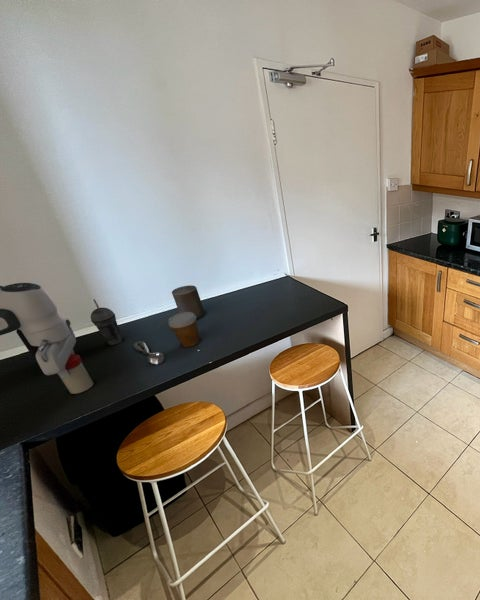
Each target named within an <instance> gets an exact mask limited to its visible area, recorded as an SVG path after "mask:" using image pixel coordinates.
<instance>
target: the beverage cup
mask: <svg viewBox="0 0 480 600" xmlns="http://www.w3.org/2000/svg"><path fill="white" fill-rule="evenodd" d="M93 303H94V304H95V306H96V308H95V309H94V310H93V311H92V312H91V314H90V321H91V323H92V324H93V325H94V326H95V327H96V328H97V330H98V331H99V333H100V334H101V336H102V337H103V339H104V340H105V342H106V343H107V344H108V345H109V346H114V345H118V344H120V343H121V342H122V341H123V337H122V333H121V331H120V328H119V325H118V322H117V316H116V314H115V313H114V311H113V310H112V309H110V308H107V307H100V306H99V304H98V302H97V301H96V299H93Z"/></svg>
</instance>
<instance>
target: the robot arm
mask: <svg viewBox="0 0 480 600" xmlns="http://www.w3.org/2000/svg"><path fill="white" fill-rule="evenodd" d="M71 324H72V323H71V320H70V319H69V318H63V317H62V316H61V315H60V313H58V308H57V305H56V303H55V302H54V300H53V298H52V297H51V296H50V294H49V293H48V292H47V291H46V290H45V289H44V287H42V286H41V285H40V284H37V283H34V282H33V283H32V282H15V283H11V284H6V285H4V286H3V285H0V336H4V335H6V334H9V333H10V334H11V333H12V332H16V331H17V329H19V330H21V331H22V333H23V334H24V336H25V337H26V339H27V340H28V342H29V343H30V345H32V346H39V347H38V351H37V352H36V359H37V362H38V364H39V365H38V364H37V365H38V366H39V368H40V369H41V371H42V373H43V374H44V375H46V376H52V375H58V374H59V375H60V376H61V378H63V379H64V378H68V377H69V376H70V372H69V370H66V369H65V365H66V363H67V361H68V358H69V356H70V355H72V354H74V350H73V347H74V346H75V345H76V343H77V338H76V334H75V332H74V330H73V329H72V327H71ZM37 362H36V363H37ZM59 375H58V376H59ZM61 378H60V379H61Z"/></svg>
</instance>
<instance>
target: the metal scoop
mask: <svg viewBox="0 0 480 600" xmlns="http://www.w3.org/2000/svg"><path fill="white" fill-rule="evenodd" d="M138 344H140V345H138ZM133 347H134V349H136V350H137V351H138V352H140V353H142V354H144V355H145V354H146V355H148V356H147V357H146V360H147V361H148V362H149V363H151V364H154V365H160V364H161V363H162V362H164V354H163V353H162V352H150V350H149V348H148V346H147V344H146V343H145V342H144V341H142V340H141V341H140V340H139V341H135V342H134V343H133Z"/></svg>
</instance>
